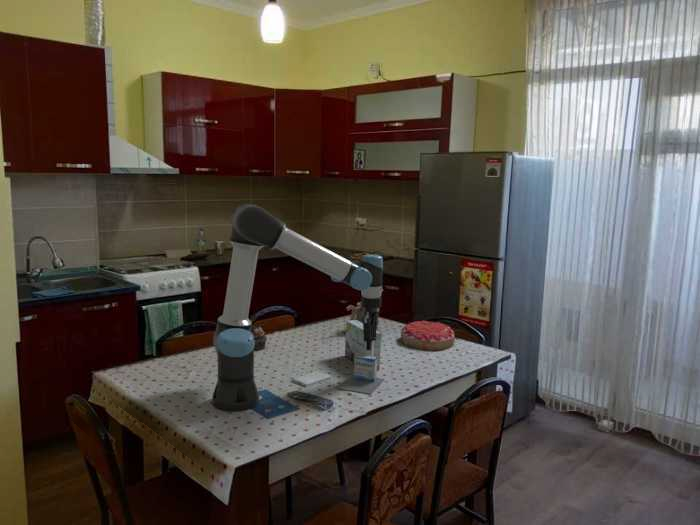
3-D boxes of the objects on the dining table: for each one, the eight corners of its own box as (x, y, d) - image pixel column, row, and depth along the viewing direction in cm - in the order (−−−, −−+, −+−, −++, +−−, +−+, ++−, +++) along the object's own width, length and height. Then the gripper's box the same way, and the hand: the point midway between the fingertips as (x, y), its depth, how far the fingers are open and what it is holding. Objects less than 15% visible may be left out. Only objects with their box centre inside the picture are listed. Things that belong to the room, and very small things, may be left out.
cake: (426, 329, 277) (426, 314, 275) (466, 344, 258) (467, 327, 256) (389, 340, 261) (390, 324, 260) (429, 357, 243) (429, 339, 241)
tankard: (367, 326, 283) (368, 297, 280) (384, 332, 273) (385, 302, 271) (336, 332, 270) (337, 302, 268) (353, 339, 260) (354, 307, 258)
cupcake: (262, 352, 237) (263, 329, 235) (241, 350, 238) (241, 327, 237) (269, 345, 246) (269, 323, 245) (248, 344, 248) (248, 322, 246)
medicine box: (353, 379, 207) (354, 357, 205) (356, 375, 211) (357, 353, 210) (374, 382, 205) (375, 359, 204) (376, 378, 209) (377, 355, 208)
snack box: (343, 355, 235) (345, 320, 233) (355, 354, 238) (357, 319, 236) (367, 370, 217) (370, 333, 215) (380, 369, 219) (383, 332, 217)
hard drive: (316, 370, 213) (291, 378, 204) (331, 375, 208) (306, 384, 199) (316, 374, 213) (291, 382, 204) (331, 380, 208) (306, 388, 199)
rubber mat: (370, 394, 194) (370, 393, 194) (336, 388, 198) (336, 387, 198) (384, 379, 208) (384, 378, 208) (351, 374, 213) (351, 373, 213)
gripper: (375, 300, 200) (373, 364, 203) (386, 294, 212) (383, 354, 216) (356, 298, 203) (354, 361, 206) (367, 292, 215) (365, 351, 218)
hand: (369, 357), depth 211 cm, fingers closed
